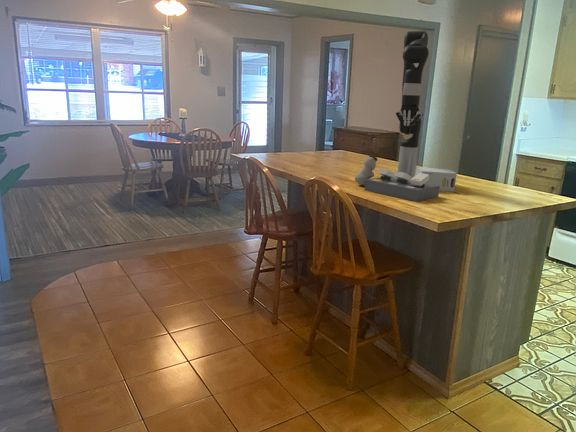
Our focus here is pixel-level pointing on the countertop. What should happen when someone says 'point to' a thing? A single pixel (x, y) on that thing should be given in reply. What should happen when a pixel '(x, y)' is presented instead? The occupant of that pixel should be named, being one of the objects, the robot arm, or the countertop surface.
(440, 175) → the supplement box
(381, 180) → the grey tray
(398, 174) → the switch
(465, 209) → the countertop surface
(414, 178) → the switch
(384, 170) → the switch
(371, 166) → the figurine
